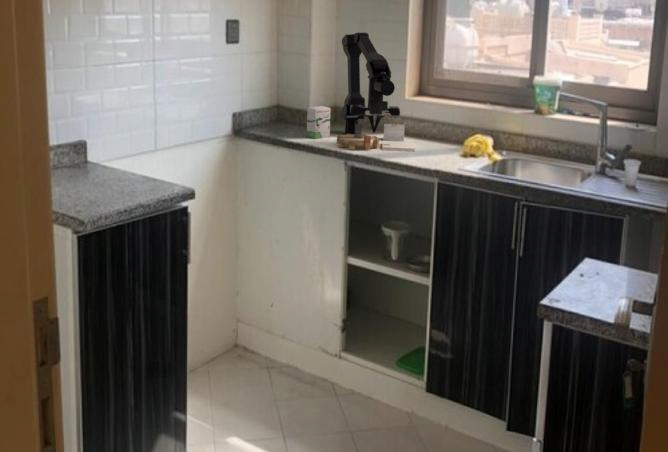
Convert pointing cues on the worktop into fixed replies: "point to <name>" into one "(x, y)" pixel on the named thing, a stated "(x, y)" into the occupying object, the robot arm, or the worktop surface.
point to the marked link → (393, 132)
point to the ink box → (318, 122)
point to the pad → (398, 146)
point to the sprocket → (357, 140)
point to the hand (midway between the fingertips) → (373, 132)
